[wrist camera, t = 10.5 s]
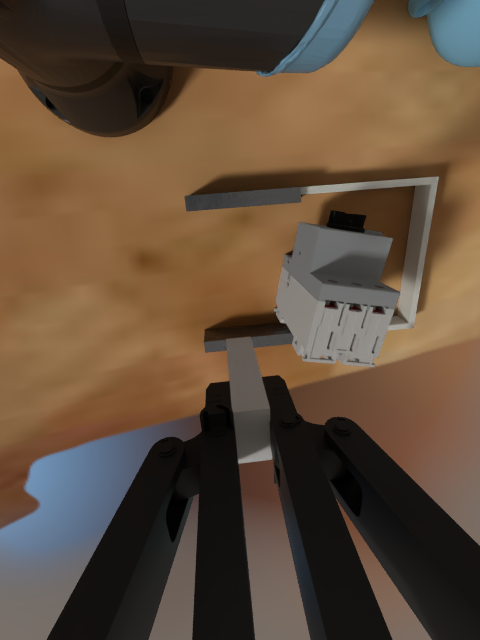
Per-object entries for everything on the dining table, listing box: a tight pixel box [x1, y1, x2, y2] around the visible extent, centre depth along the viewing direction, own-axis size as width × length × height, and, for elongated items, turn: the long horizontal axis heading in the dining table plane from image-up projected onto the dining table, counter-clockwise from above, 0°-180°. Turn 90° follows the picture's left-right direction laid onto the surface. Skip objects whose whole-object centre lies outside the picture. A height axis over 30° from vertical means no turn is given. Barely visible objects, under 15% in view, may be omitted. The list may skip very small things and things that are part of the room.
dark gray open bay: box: [185, 187, 301, 353], centre depth 38 cm, size 20×13×4 cm, turn 4°
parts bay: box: [301, 176, 439, 331], centre depth 39 cm, size 20×17×3 cm
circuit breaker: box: [274, 211, 400, 367], centre depth 34 cm, size 8×14×15 cm, turn 172°
